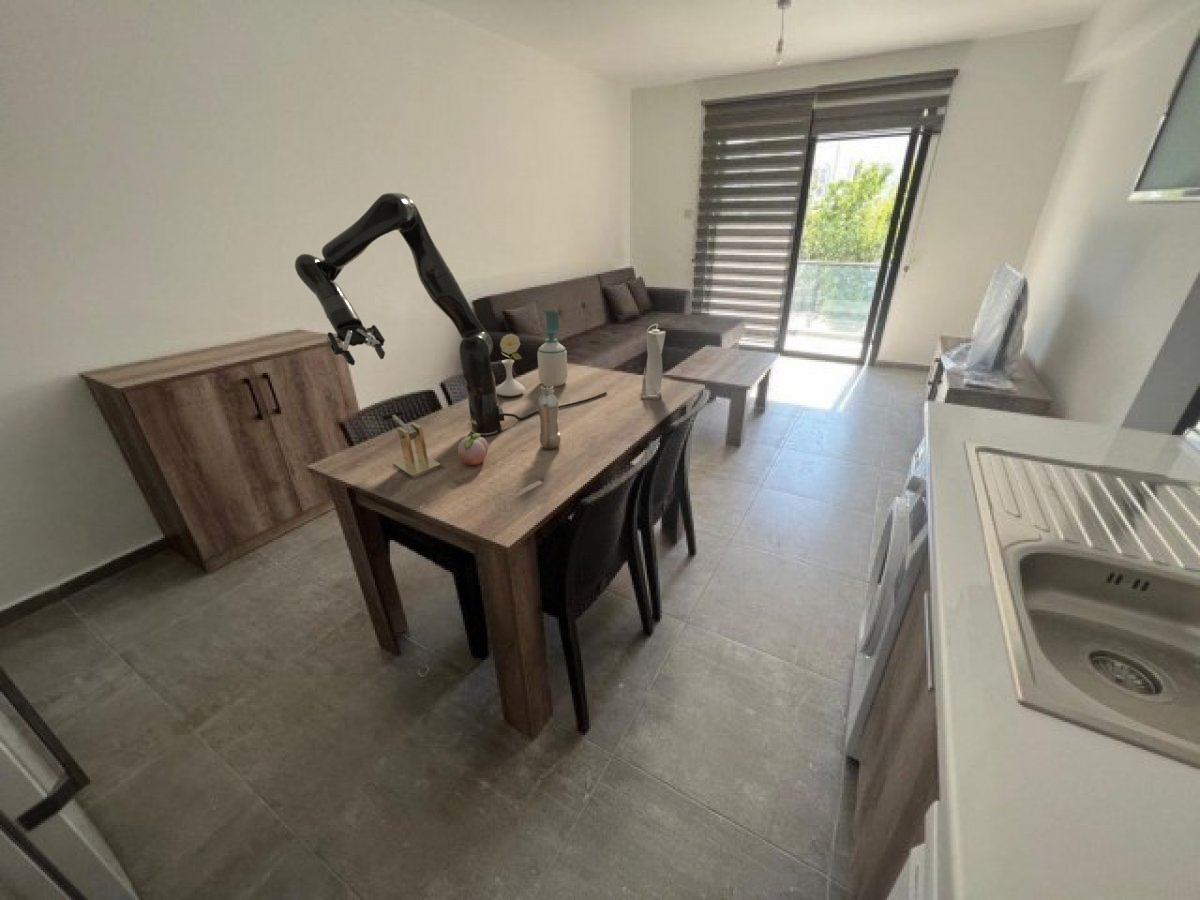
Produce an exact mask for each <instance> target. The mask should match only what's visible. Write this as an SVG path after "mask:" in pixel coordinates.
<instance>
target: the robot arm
mask: <svg viewBox="0 0 1200 900" xmlns="http://www.w3.org/2000/svg"><path fill="white" fill-rule="evenodd" d="M394 231H398V233H399V234H400V235H401V237H402V238H403V240H404V241H405V242H406V245H407V246H408V248H409V250H410V252H411V254H412V259H413V261H414V266H415V269H416V273H417V276H418V279H419V281H420V283H421V284H422V285H423V288H424V289H425V291H426V293H427V295H428V296H429V297H430V299H431V300H432V302H433V303H434V304H435V305H436V306H437V308H438V309H439V310H441V312H442V313H444V315H446V317H447V318H449V320H450V321H451V322H452V323H453V325H454V327H455V329H456V330H457V332H458V334H459V335H460V338H461V341H460V343H459V346H458V351H459V359H460V365H461V371H462V376H463V378H464V380H465V386H466V393H467V401H468V407H469V408H468V409H469V415H470V418H469V423H471V424H470V425H471V432H472V434H475V433H478V434H480V437H487V436H492V435H496V434H498V433H501V432H502V425H501V422H505V417H514V418H516V420H519V421H522V420H526V419H528V418H530V417H532V416H534V415H536V414H539V410H536V411H533V412H531V413H529V414H527V415H525V416H523V417H519V416H518V415H517V414H515V413H507V412H506V413H505V412H504V411H503V408H501V407H499V403H498V396H497V388H496V377H495V372H494V371H493V368H492V362H491V354H492V352H493V348H494V344H493V340H492V337H491V336H490V334H489V333H488V332H487V330H486V328H485V327H484V326H483V325H482V323H481V322H480V320H479V319H478V317H477V316H476V314H475V312H474V311H473V309H472V308H471V306H470V303H469V301H468V300H467V298H466V296H465V294H464V292H463V291H462V289H461V287H460V284H459V283H458V281H457V279H456V278H455V276H454V273H452V271H451V269H450V267H449V265H448V264H447V262H446V261H445V259H444V257H443V256H442V254H441V252H440V250H439V249H438V247H437V246H436V244H435V242H434V240H433V238H432V237H431V234H430V233H429V231H428V229H427V227H426V224H425V223H424V220H423V218H422V216H421V213H420V211H419V209H418V207H417V205H416V203H415V202H414V201H413V200H412V199H411V198H410V197H409V196H408V195H406V194H405V193H403V192H386V193H383V194H381V195H380V196H379V197H378V198H377V199H376V200H375V201H374V202H373V203H372V204H371V206H370V207H369V208H368V209H367V210H366V211H365V212H364V213H363V214H362V216H360V218H358V219H357V220H356V221H355V222H354V223H353V224H352V225H350V226H349V227H348V228H346V229H345V230H344V231H342V232H340V233H339V234H338V235H336V236H335V237H334V238H332V239H331V240H329V241H328V242H327V243H326V244H324V245H323V247H322V248H321V254H322V256H323V259H322V258H320V257H317V256H314V255H312V254H309V253H302V254H299V255H298V256H297V257H296V258H295V261H294V269H295V272H296V275H297V276H298V277H299V279H300V280H301V281H302V282H303V283H304V285H305V286H306V287H307V288H308V289H309V290H310V291H311V292H312V293H313V294H314V295H315V297H316V299H317V300H318V302H319V304H320V305H321V307H322V309H323V312H324V314H325V316H326V318H327V319H328V322H330V325H331V326H332V328H333V329H334V332H335V333H332V332H327V336H326V340H327V342H328V345H329V346H330V349H331V350H332V352H333V355H335V356H338V355H342V356H343V358H344V359H345V361H346V363H347V364H348V365H350V366H354V365H355V364H356V361H355V358H354V357H353V355H352V353H351V351H350V350H349V347H350V346H351V347H356V346H357V345H359V346H361V345H366V346H367V347H372V348H373V349H374V351H375V352H376V354H377V357H379V359H380V360H383V359H385V356H386V352H385V349H383V346H384V344H385V341H386V340H385V338H384V336H383V334H382V333H381V332H380V330H379V329H378V327H377V326H376V325H375V324H372V325H371V327H366V326H364V325H363V322H362V320H361V319H360V317H359V315H358V313H357V312H356V310H355V308H354V306H353V305H352V304H351V302H350V300H348V297H347V296H346V295H345V293H344V292H343V290H342V288H341V286H340V285H339V284H338V283H337V282H336V281H335V280H336V279H337V278H338V277H339V275H340V274H341V272H342V271H343V270H344V268H345V266H348V264H350V263H352V262H353V261H354V260H356V259H357V258H358V257H359V256H361V255H362V254H363V253H364V252H365V251H366V250H367V248H368V247H369V246H370V245H372V243H373V242H375V241H376V240H378V239H379V238H380V237H381V238H382V237H383V236H384V235H387V234H389V233H392V232H394ZM337 340H340V341H341V342H343V345H342V347H340V346H339V344H338V342H337ZM607 394H608V393H607V392H606V391H605V392H603V393H600V394H597V395H595V396H591V397H589V398H586V399H582V400H578V401H575V402H571V403H566V404H561V405H558V409H562V408H567V407H570V406H574V405H578V404H583V403H586V402H590V401H591V400H594V399H597V398H600V397H602V396H605V395H607Z"/></svg>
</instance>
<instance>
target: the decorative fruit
mask: <svg viewBox="0 0 1200 900" xmlns="http://www.w3.org/2000/svg"><path fill="white" fill-rule="evenodd" d="M488 451H489V443H488V441H487V440H486V439H485V438H484V437H483V436H480V434H478V433H475V434H473V433H471V434H470V436H466V437H464V438H463V439H462V440H461V441H460V442H459V444H458V446H457V454H458V457H459V459H460V460H462V462H463V463H465V464H467V465H469V466H478V465H480V464H481V463H483V461H484V460H485V459H486V457H487V454H488Z"/></svg>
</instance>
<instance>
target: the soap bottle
mask: <svg viewBox="0 0 1200 900" xmlns="http://www.w3.org/2000/svg"><path fill="white" fill-rule="evenodd" d="M542 313H544V314H545V318H546V329H545V330H544V331H543V334H546V336H547V337H548V338H545V339H544V341H545V342H544V343H542V345H540V347H538V349H537V352H536V354H537V356H536V357H537V369H538V371H537V372H538V379H539V381H540V383H541V385H552V386H553V388H554V387H556V388H557V387H560V386H563V385H564V384H565V383H566V382H567V379H568V352H567V351H568V350H567V348H566V347H565V346H564V345H563V344H561V343H560V342H559V341H558V338H556V337H555V336H556V334H557V333H558V332H559V331H560V318H559V312H558V311H556V310H542Z"/></svg>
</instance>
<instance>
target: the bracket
mask: <svg viewBox="0 0 1200 900" xmlns="http://www.w3.org/2000/svg"><path fill="white" fill-rule="evenodd" d="M411 426H412V427H413V428H414V429H415V430H416V431H417V438H415V439H413V442H414V448H415V453H416V454H414V452H413V447H412V442H411V440H410V437H409V432H408V431H407V430H405V429H403V428H401V427H400V426H399V427H397V434H398V437H399V443H400V447H401V452H402V456H403V459H400V460H398V461H395V462H392V464H393V465H394V466H395V467H397V468H399V470H401V471H403V472H405V473H407V474H408V475H409V476H410V477H414V476H417V475H420V474H422V473H424V472H426V471H429V470H432V469H435V468H436V467H439V466H441V465H442V464H441V463H440V462H439V461H437V460H434V459H433V458H431V457H429V456H428V454H427V448H426V443H425V442H426V441H425V437H424V431H423V427H422V426H421V425H419V424H417V423H416V422H411V423H410V427H411Z"/></svg>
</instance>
